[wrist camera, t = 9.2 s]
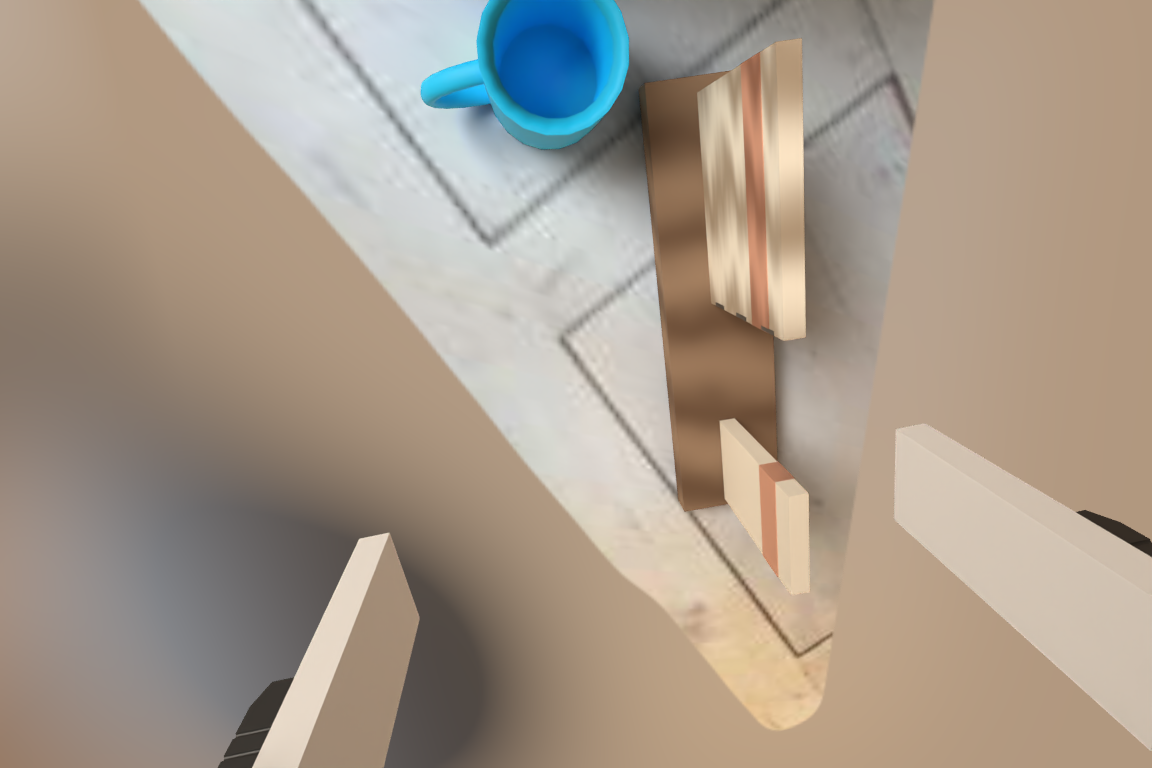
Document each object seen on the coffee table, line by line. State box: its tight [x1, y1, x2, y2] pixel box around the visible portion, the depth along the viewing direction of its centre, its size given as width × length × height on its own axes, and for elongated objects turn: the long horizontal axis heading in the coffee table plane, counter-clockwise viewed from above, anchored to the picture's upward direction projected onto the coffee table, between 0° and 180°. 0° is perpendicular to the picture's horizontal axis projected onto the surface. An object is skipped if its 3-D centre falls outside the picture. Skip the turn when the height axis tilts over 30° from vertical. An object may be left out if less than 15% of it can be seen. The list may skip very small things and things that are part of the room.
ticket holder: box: [639, 38, 806, 512], centre depth 36 cm, size 32×8×14 cm, turn 8°
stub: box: [720, 418, 810, 595], centre depth 39 cm, size 7×1×12 cm, turn 8°
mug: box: [421, 0, 629, 149], centre depth 33 cm, size 12×8×8 cm
